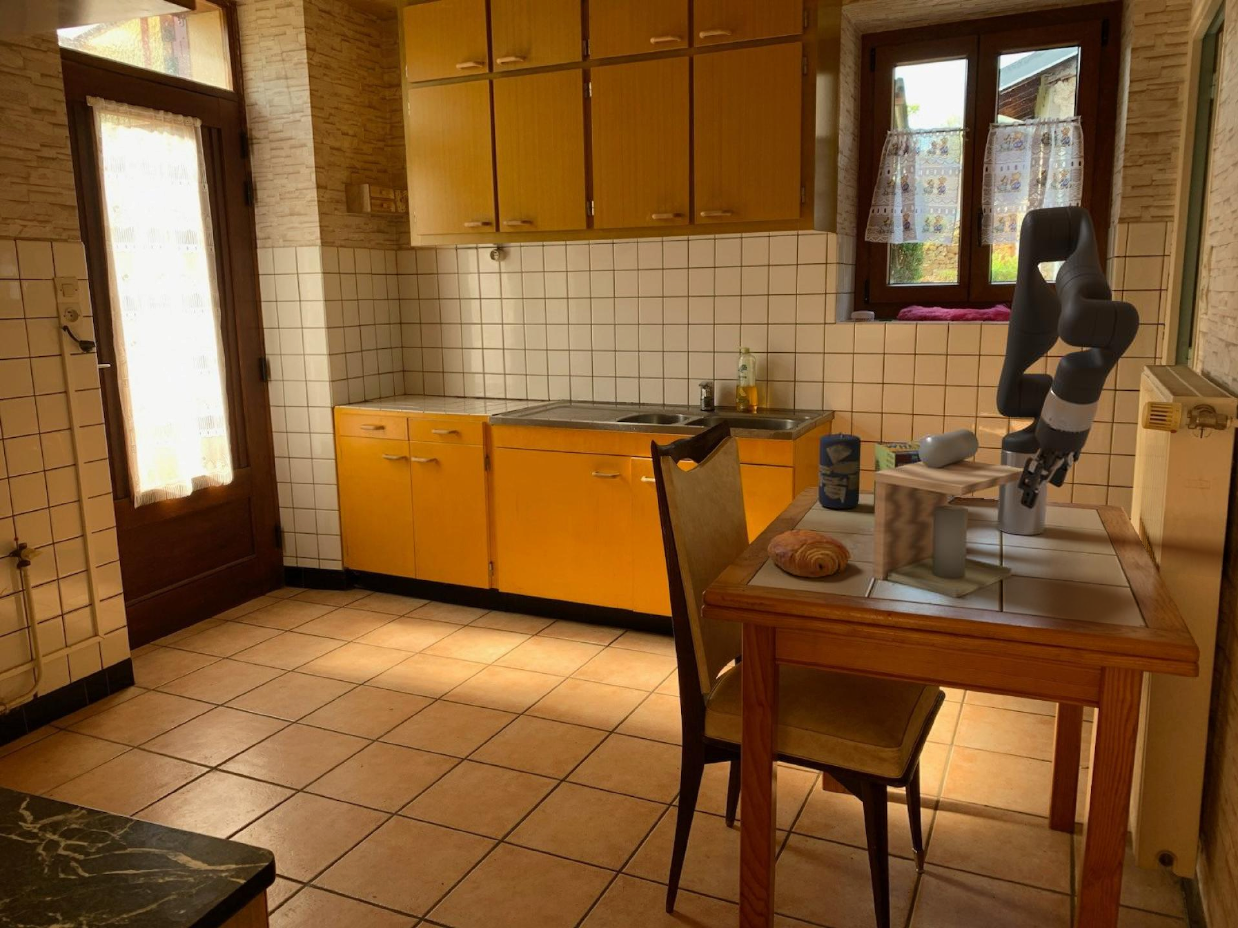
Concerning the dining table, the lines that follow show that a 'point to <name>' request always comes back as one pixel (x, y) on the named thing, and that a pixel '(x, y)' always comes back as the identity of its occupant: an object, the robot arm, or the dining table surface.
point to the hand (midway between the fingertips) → (1041, 495)
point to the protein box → (894, 456)
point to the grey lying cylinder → (948, 448)
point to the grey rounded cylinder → (949, 541)
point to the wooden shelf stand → (928, 522)
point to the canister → (839, 470)
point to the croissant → (808, 553)
